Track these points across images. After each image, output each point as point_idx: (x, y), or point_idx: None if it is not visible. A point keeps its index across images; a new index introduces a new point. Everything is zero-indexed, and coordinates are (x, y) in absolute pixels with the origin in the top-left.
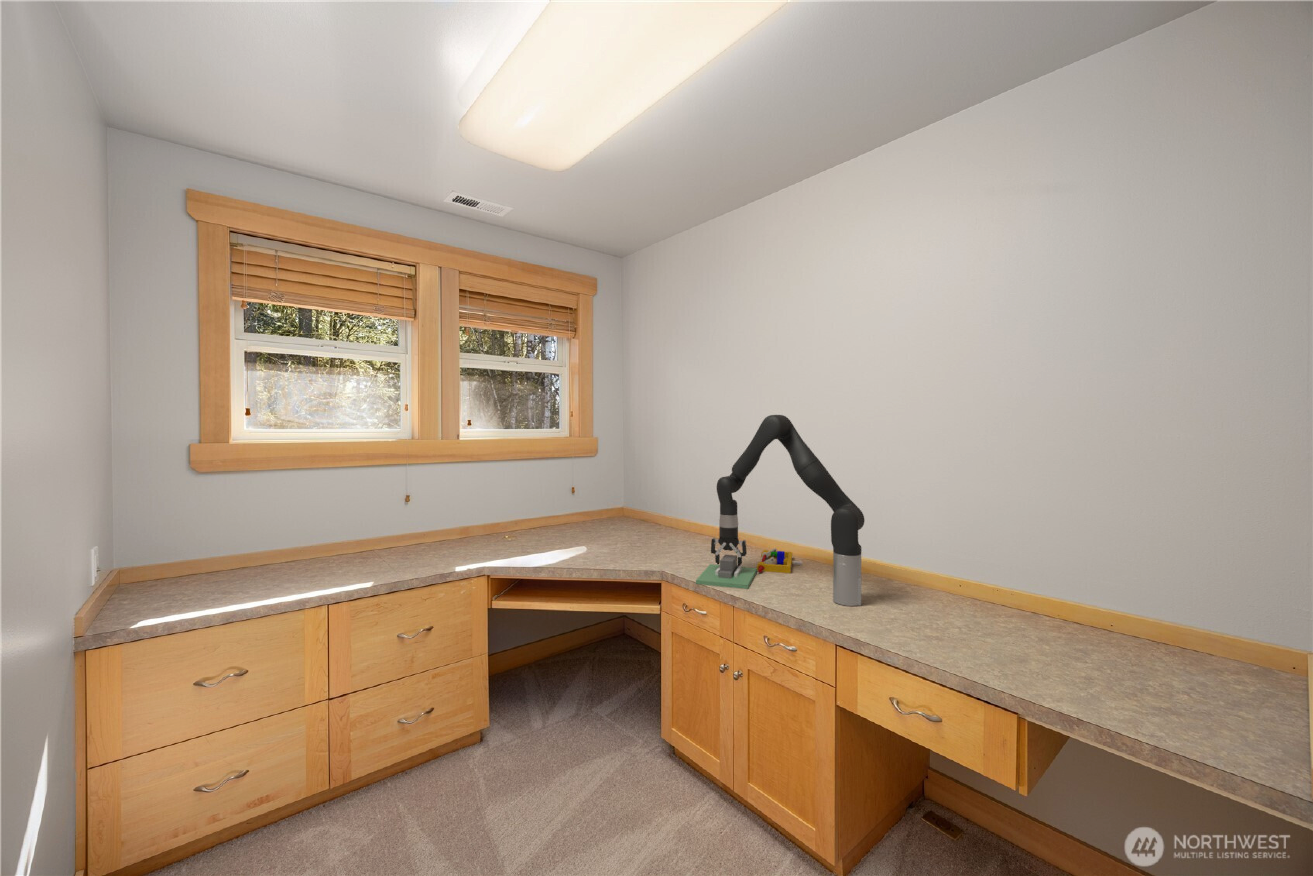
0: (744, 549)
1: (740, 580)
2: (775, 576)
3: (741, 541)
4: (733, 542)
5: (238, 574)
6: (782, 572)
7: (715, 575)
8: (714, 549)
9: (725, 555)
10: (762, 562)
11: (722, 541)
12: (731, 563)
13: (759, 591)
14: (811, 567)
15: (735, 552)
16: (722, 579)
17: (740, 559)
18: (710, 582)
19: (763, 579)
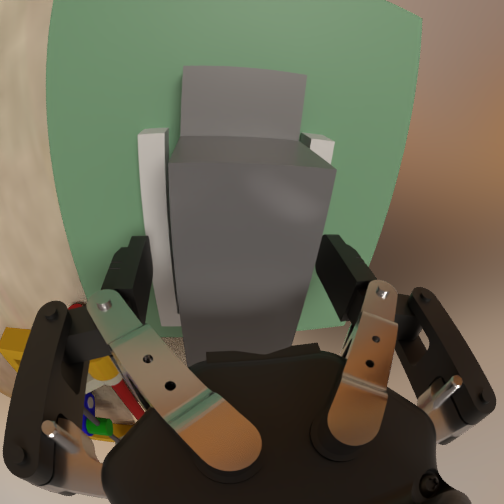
0: (29, 367)
1: (106, 53)
2: (15, 281)
3: (64, 484)
4: (186, 480)
5: None
6: (25, 330)
7: (319, 122)
8: (403, 344)
9: (282, 345)
10: (94, 375)
11: (387, 445)
12: (184, 156)
13: (11, 3)
14: (10, 377)
15: (144, 325)
16: (254, 31)
17: (111, 281)
18: None
19: (28, 219)
